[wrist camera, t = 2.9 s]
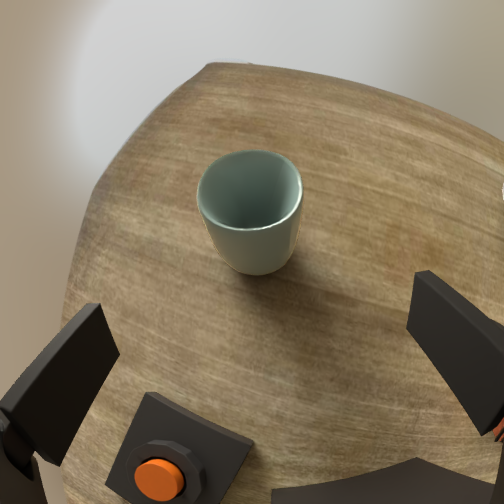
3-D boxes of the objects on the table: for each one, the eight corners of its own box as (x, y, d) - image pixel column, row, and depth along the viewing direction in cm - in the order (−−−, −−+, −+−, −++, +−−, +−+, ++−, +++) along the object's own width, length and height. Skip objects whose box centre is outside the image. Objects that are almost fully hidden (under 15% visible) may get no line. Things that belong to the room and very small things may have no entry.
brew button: (138, 479, 16) (128, 485, 14) (151, 450, 17) (142, 455, 15) (175, 501, 15) (168, 508, 13) (191, 472, 16) (184, 478, 15)
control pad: (115, 479, 18) (94, 488, 14) (155, 391, 23) (136, 391, 19) (202, 528, 16) (192, 546, 12) (253, 440, 20) (249, 450, 17)
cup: (295, 217, 30) (301, 147, 21) (298, 286, 26) (309, 233, 17) (223, 217, 30) (203, 150, 21) (216, 285, 27) (187, 233, 18)
